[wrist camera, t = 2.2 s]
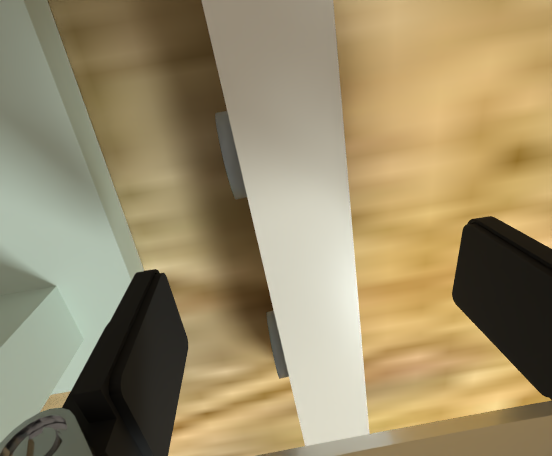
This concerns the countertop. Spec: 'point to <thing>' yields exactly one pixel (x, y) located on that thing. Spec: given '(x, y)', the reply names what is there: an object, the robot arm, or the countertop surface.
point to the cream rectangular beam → (295, 196)
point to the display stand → (51, 220)
